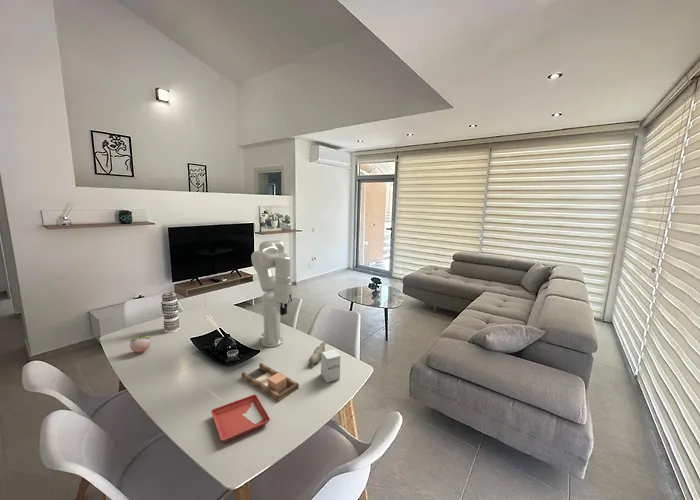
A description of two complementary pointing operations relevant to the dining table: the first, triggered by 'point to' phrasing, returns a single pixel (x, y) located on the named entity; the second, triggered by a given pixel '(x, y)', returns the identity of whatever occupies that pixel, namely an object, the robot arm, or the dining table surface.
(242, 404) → the red shallow tray
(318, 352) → the decorative bird
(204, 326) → the dining table surface
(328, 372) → the supplement box
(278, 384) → the terracotta block
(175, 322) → the model tower building
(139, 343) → the decorative fruit
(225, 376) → the dining table surface
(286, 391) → the wooden tray
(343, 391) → the dining table surface
